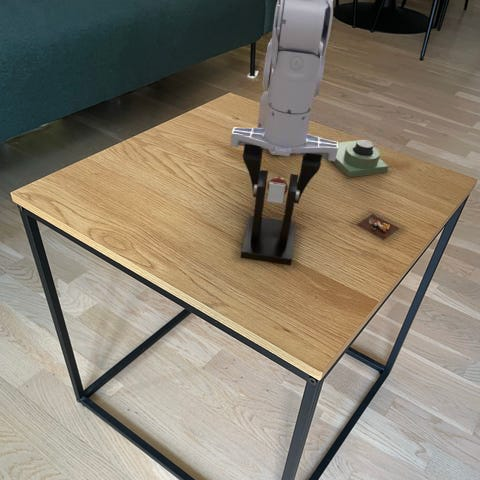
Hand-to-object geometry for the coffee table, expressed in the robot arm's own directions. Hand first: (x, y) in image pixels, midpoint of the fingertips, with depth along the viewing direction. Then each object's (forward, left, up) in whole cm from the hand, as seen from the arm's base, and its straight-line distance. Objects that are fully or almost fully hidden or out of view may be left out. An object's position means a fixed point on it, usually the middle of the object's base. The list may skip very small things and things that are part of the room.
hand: (276, 196), depth 74 cm
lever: (+4, -2, +2) cm, 5 cm away
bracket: (+6, -4, -3) cm, 8 cm away
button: (-10, +21, 0) cm, 23 cm away
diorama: (+7, +14, -3) cm, 16 cm away
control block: (-12, +21, -3) cm, 25 cm away
